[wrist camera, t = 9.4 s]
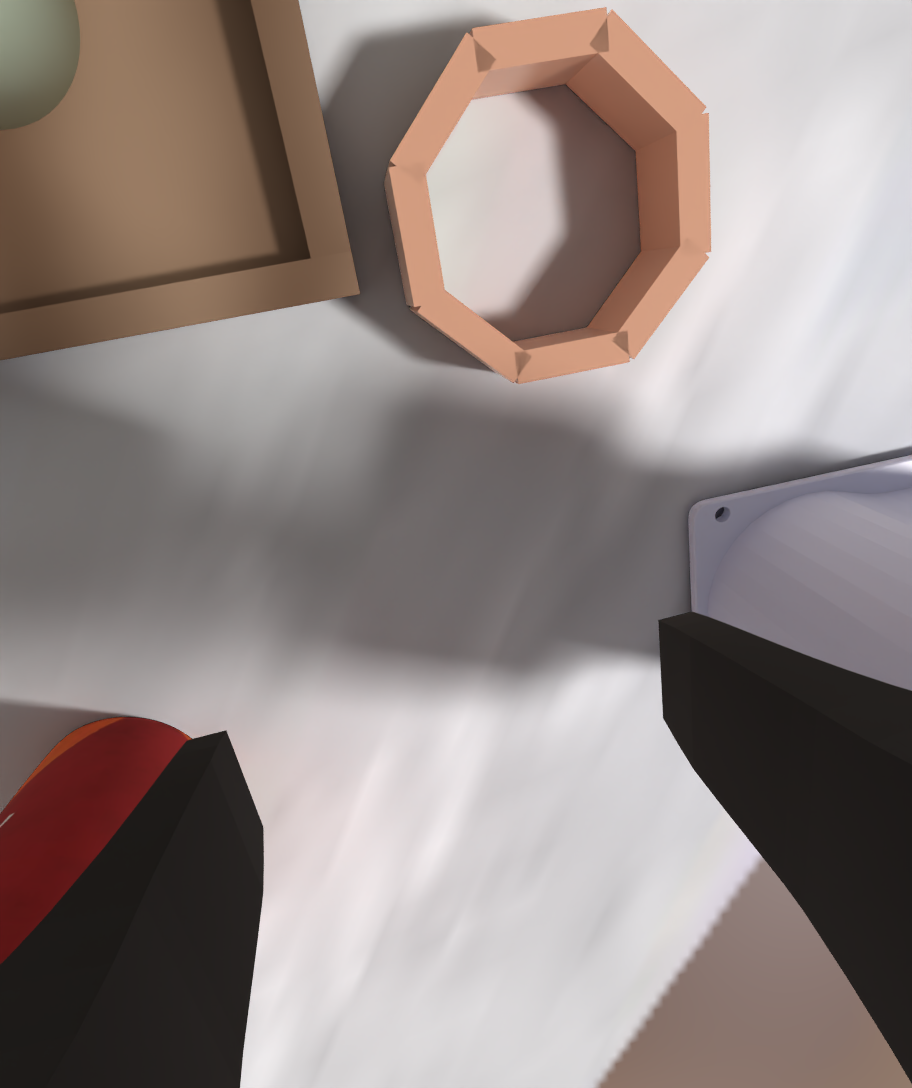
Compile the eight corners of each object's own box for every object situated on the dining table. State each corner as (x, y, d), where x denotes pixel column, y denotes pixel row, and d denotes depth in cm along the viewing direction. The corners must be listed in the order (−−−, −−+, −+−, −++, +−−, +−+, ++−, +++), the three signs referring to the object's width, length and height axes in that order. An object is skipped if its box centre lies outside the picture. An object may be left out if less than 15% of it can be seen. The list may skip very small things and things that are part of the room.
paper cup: (-37, 721, 21) (-691, 1447, 8) (207, 663, 21) (-19, 1252, 8) (65, 896, 24) (-281, 1631, 11) (277, 841, 24) (191, 1480, 11)
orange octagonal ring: (659, 31, 17) (706, -8, 14) (671, 339, 20) (712, 345, 17) (364, 78, 16) (366, 45, 14) (422, 388, 19) (431, 401, 17)
